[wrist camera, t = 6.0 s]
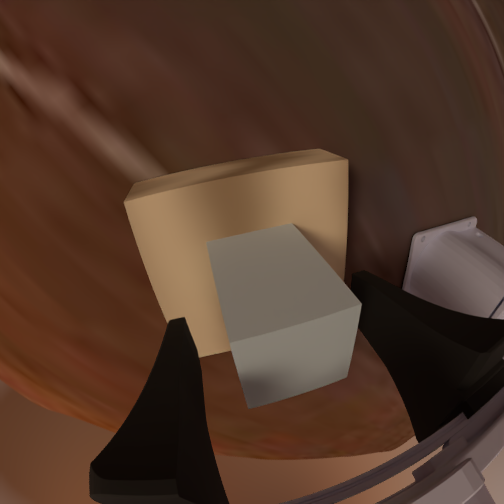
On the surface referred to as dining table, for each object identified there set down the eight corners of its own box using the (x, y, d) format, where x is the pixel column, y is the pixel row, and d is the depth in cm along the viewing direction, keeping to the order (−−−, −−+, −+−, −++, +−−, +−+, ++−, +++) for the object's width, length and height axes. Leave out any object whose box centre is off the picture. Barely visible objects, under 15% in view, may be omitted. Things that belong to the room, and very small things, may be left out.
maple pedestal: (319, 148, 15) (348, 159, 12) (320, 291, 20) (340, 318, 17) (134, 183, 13) (123, 202, 11) (181, 326, 18) (184, 360, 16)
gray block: (292, 223, 13) (361, 303, 8) (295, 290, 15) (346, 377, 10) (206, 241, 12) (229, 342, 7) (222, 309, 14) (248, 408, 9)
